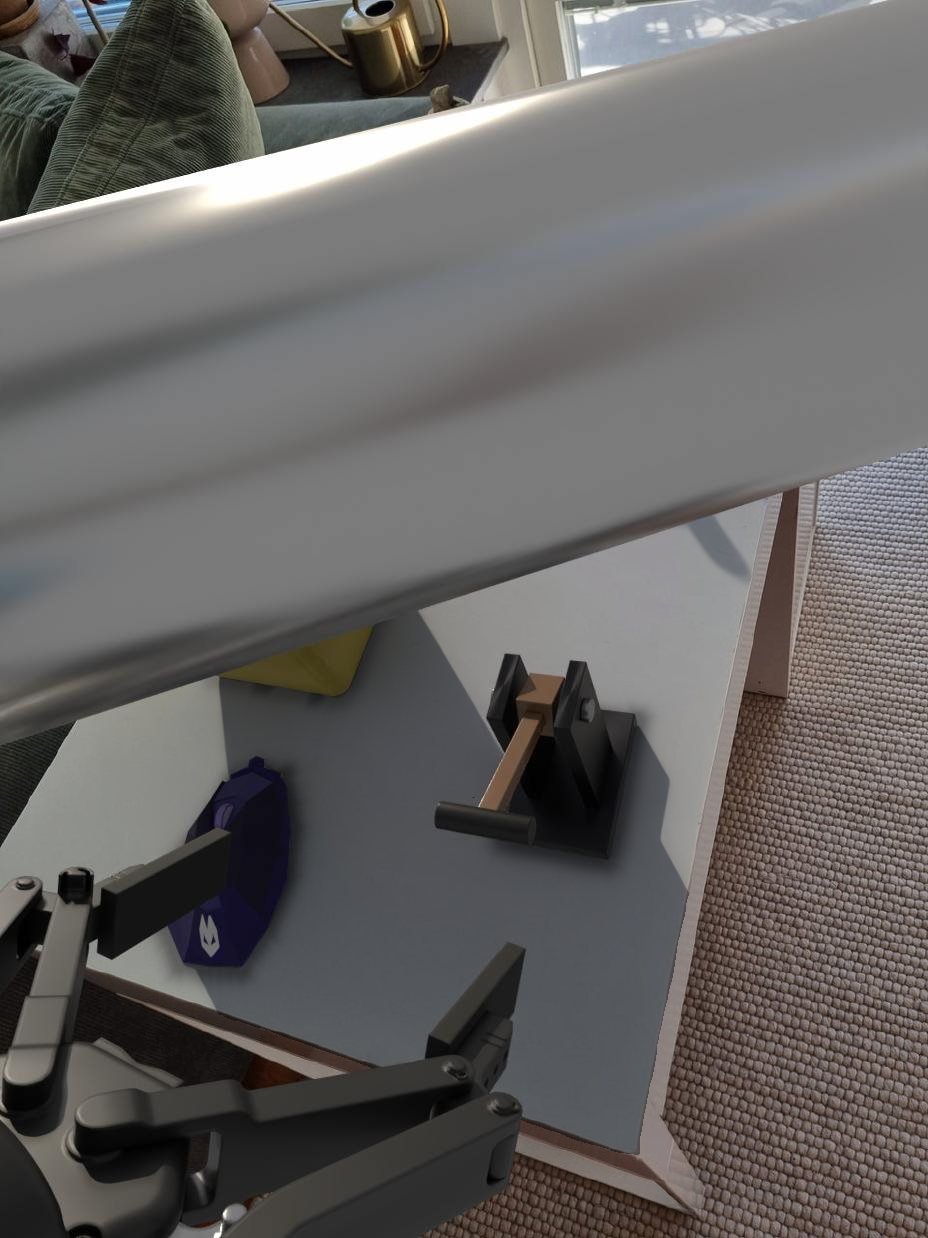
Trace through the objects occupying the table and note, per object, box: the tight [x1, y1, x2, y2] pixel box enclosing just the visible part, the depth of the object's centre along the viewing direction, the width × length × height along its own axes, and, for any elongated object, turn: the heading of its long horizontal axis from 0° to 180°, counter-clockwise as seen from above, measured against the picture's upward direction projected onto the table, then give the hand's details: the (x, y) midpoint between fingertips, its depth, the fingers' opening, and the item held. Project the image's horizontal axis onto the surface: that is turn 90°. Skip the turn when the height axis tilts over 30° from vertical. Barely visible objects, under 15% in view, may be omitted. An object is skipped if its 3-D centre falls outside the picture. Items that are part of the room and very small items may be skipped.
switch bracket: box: [485, 652, 638, 860], centre depth 59 cm, size 10×7×13 cm
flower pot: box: [215, 624, 375, 697], centre depth 71 cm, size 19×19×17 cm
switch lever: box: [433, 672, 566, 847], centre depth 52 cm, size 12×5×2 cm, turn 164°
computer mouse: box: [167, 755, 292, 968], centre depth 66 cm, size 9×15×4 cm, turn 173°
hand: (356, 913), depth 38 cm, fingers open, 13 cm apart
